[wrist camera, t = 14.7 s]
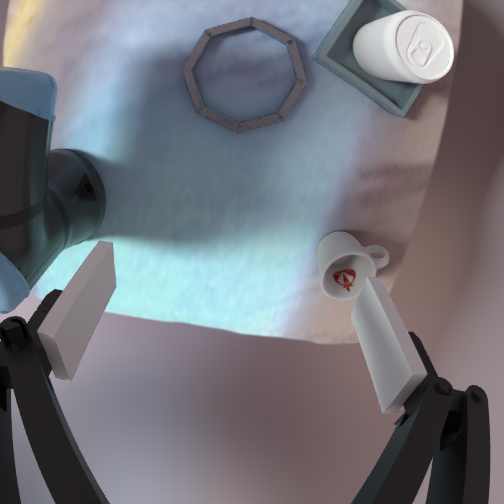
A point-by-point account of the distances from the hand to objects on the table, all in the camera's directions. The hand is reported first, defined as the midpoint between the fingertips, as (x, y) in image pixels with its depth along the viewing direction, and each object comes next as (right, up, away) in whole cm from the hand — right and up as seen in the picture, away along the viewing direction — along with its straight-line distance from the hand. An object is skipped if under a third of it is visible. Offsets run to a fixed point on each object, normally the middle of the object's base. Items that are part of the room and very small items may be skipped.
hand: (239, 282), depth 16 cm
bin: (+17, +28, +17) cm, 37 cm away
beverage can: (+17, +27, +17) cm, 36 cm away
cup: (+15, +3, +32) cm, 35 cm away
